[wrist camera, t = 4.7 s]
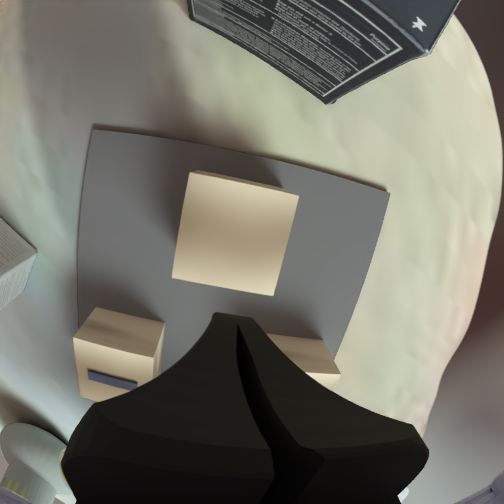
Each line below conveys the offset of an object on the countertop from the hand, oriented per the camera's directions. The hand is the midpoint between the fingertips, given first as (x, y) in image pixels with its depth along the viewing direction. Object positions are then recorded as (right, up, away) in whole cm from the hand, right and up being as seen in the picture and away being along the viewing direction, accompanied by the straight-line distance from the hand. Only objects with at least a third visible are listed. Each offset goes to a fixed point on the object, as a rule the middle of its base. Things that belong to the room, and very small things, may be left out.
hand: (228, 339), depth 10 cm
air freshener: (-23, -19, +14) cm, 33 cm away
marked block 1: (-8, -4, +10) cm, 13 cm away
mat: (-2, 0, +9) cm, 10 cm away
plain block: (0, +5, +8) cm, 9 cm away
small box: (+3, +17, +5) cm, 18 cm away
